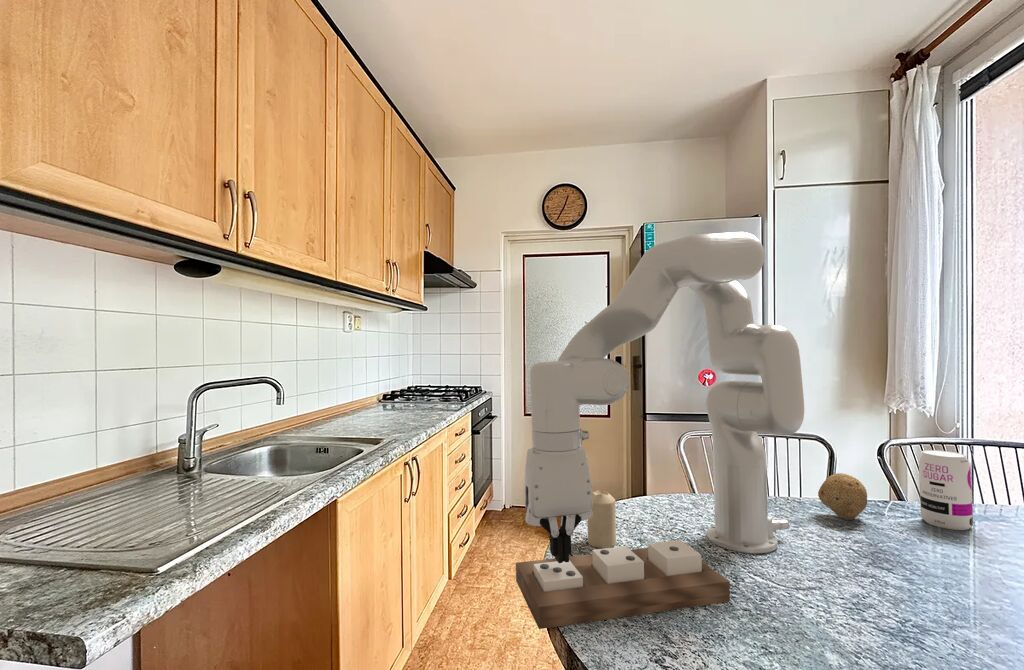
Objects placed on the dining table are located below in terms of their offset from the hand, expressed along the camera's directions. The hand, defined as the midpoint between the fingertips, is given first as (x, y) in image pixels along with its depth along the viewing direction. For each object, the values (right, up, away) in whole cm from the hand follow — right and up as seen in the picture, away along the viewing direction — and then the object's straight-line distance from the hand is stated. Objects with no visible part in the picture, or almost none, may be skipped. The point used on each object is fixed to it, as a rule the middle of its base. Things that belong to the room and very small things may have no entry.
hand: (561, 558), depth 74 cm
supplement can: (+85, -6, +28) cm, 90 cm away
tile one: (+19, -3, +4) cm, 20 cm away
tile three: (-1, -5, 0) cm, 5 cm away
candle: (+10, -7, +20) cm, 24 cm away
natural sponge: (+66, -6, +32) cm, 73 cm away
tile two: (+9, -3, +2) cm, 10 cm away
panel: (+9, -6, +2) cm, 11 cm away
